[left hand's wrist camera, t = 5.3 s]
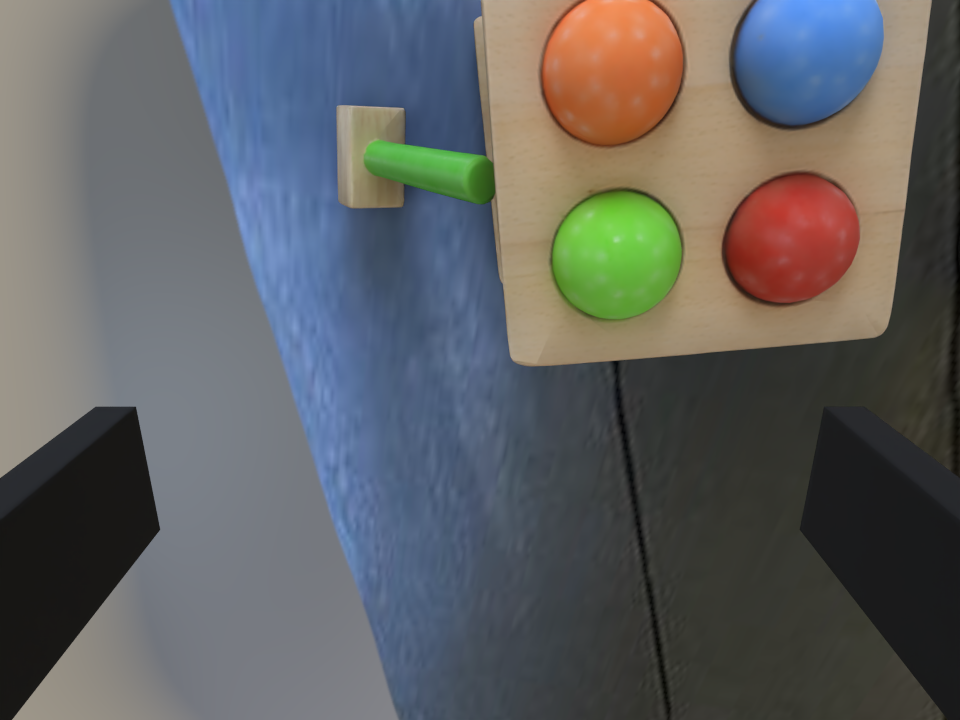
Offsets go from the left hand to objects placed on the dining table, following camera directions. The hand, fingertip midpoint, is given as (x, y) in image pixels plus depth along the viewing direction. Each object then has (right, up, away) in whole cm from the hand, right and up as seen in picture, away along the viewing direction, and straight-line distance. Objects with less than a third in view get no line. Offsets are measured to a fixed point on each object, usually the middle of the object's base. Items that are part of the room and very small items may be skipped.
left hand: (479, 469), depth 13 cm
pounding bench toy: (+3, +14, +25) cm, 29 cm away
